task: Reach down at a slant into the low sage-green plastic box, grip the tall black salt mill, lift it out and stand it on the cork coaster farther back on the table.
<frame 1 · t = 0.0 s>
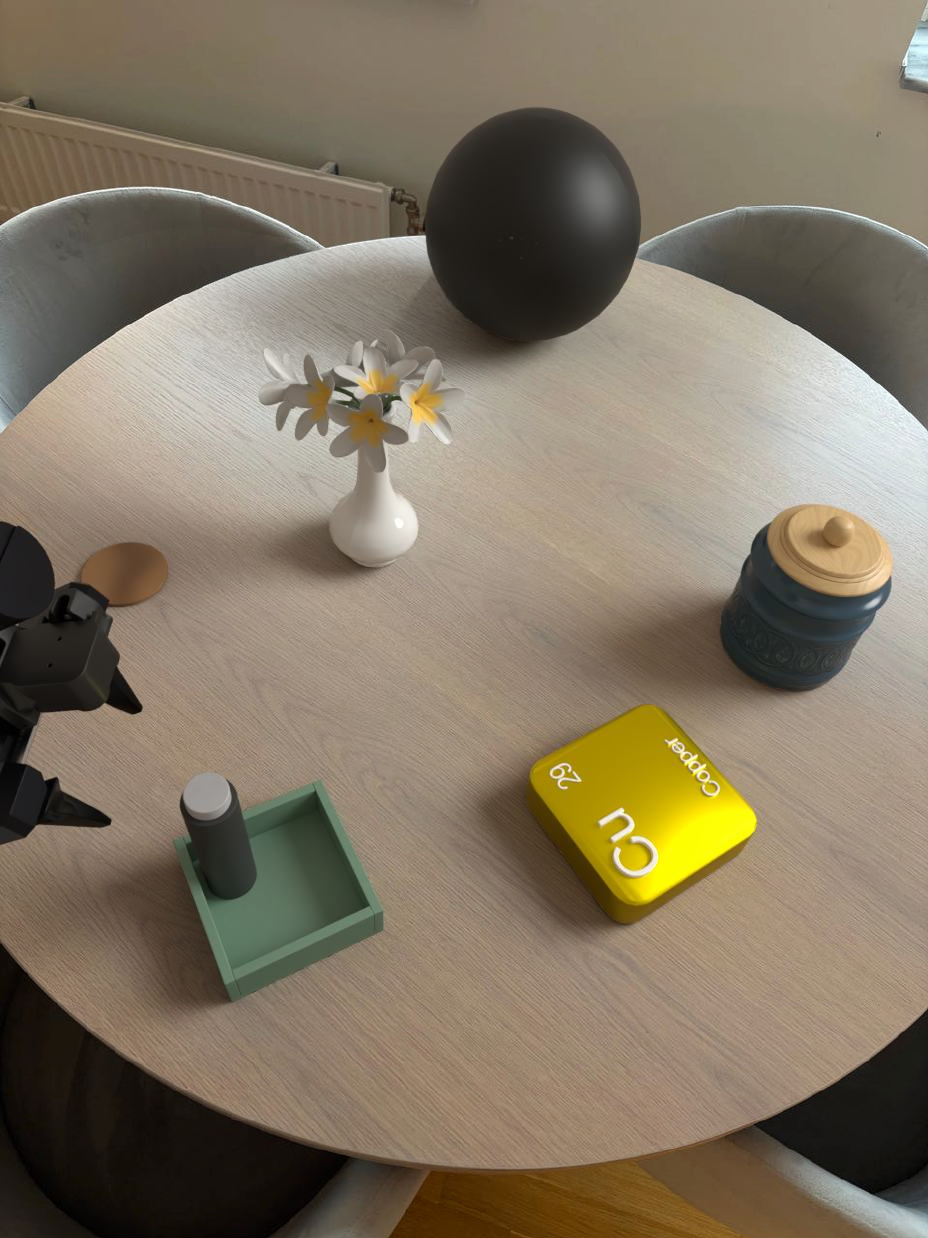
hand: (123, 765, 68), 14 cm above the table, tool tilted 35°, fingers open, 9 cm apart
element tile: (632, 820, 84), on the table
flower vase: (368, 551, 102), on the table
coaster: (125, 574, 97), on the table
canister: (779, 643, 97), on the table
ball: (520, 323, 130), on the table
salt mill: (232, 876, 77), point 1 cm above the table, touching box
box: (280, 895, 77), on the table
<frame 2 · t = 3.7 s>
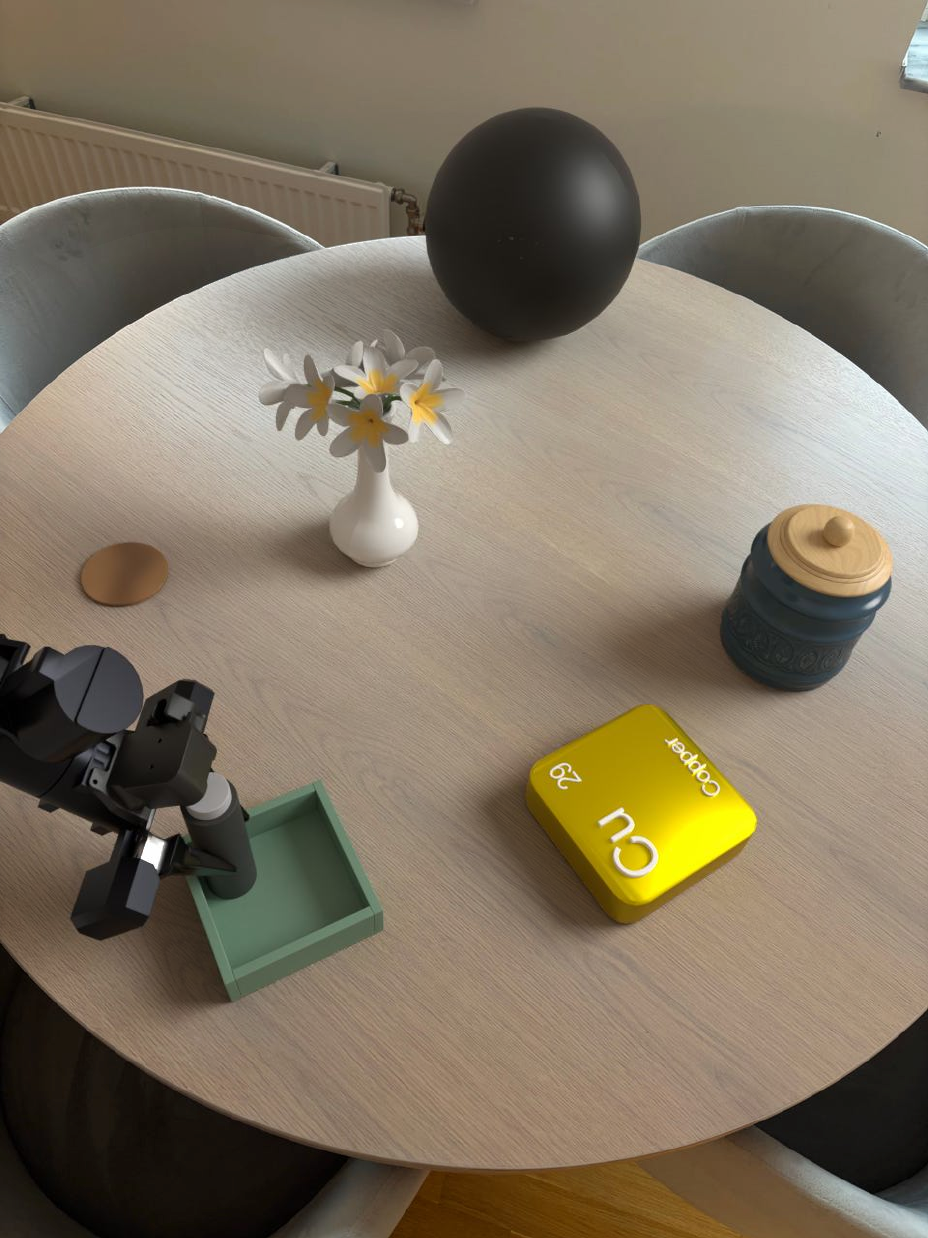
hand: (240, 845, 73), 7 cm above the table, tool tilted 45°, fingers closed on salt mill, 4 cm apart
salt mill: (232, 876, 77), point 1 cm above the table, touching box, gripper
everything else where it was.
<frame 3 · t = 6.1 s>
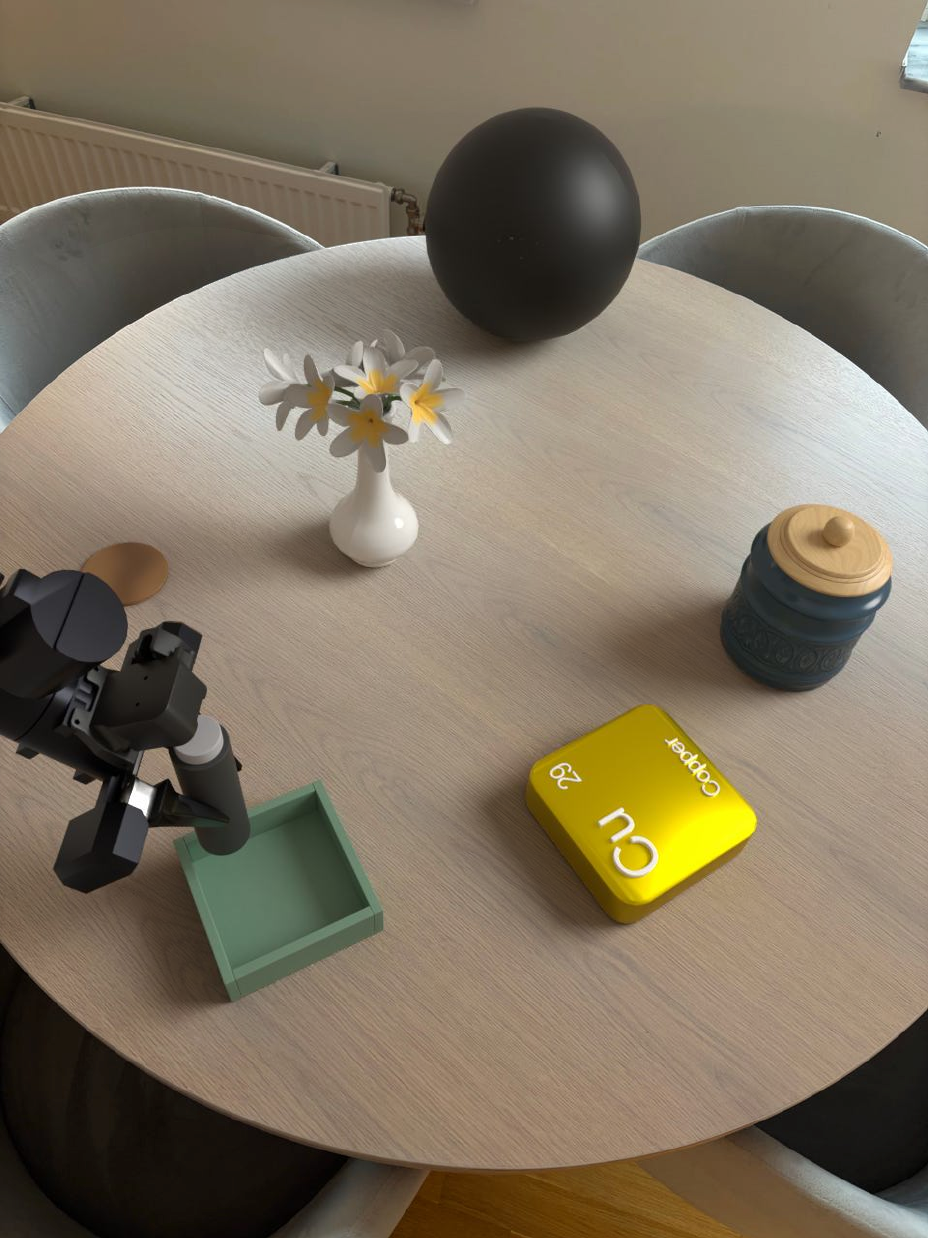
hand: (232, 796, 69), 12 cm above the table, tool tilted 45°, fingers closed on salt mill, 4 cm apart
salt mill: (224, 832, 73), point 6 cm above the table, touching gripper
everything else where it was.
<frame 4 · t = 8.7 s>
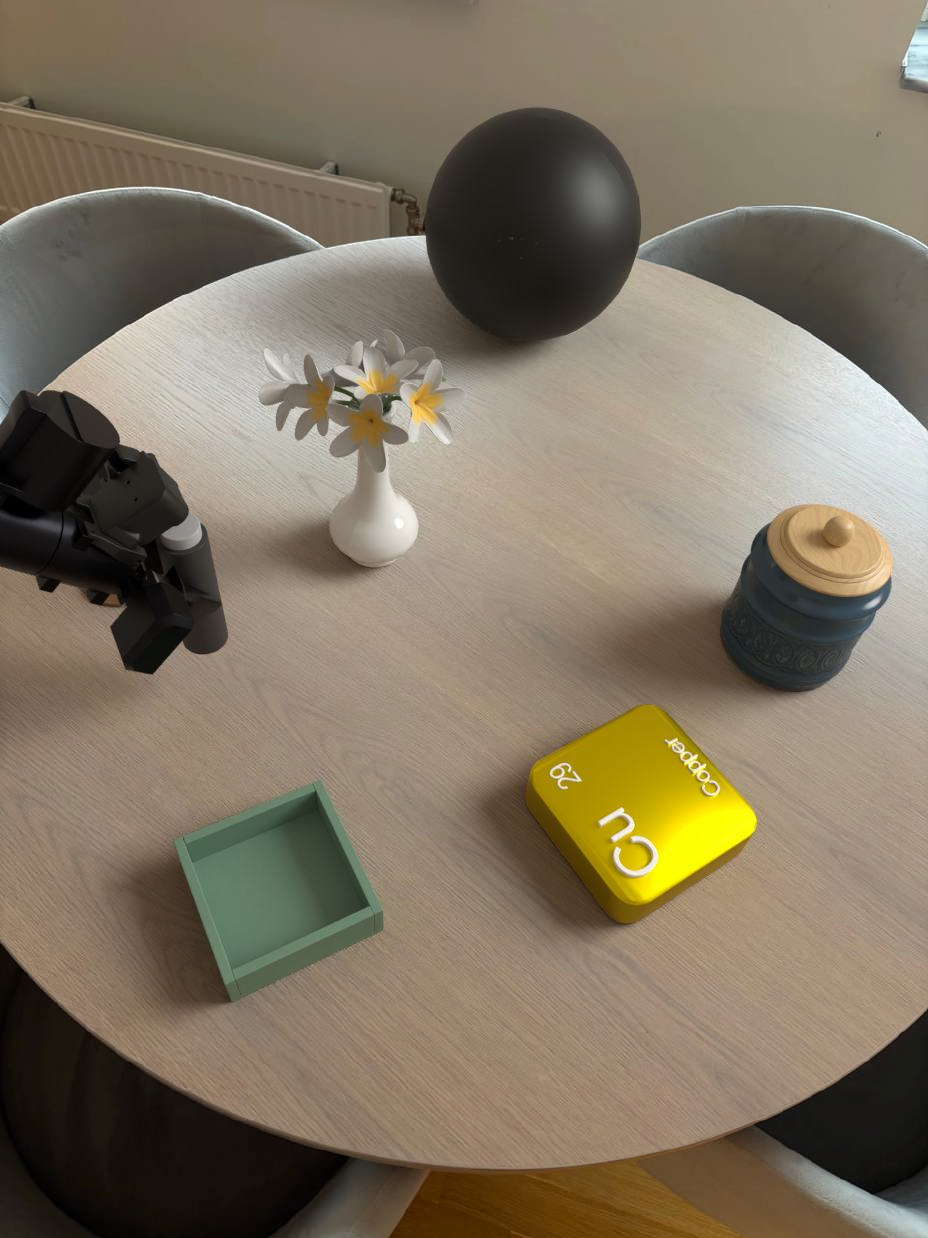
hand: (210, 588, 81), 12 cm above the table, tool tilted 45°, fingers closed on salt mill, 4 cm apart
salt mill: (205, 636, 85), point 6 cm above the table, touching gripper
everything else where it was.
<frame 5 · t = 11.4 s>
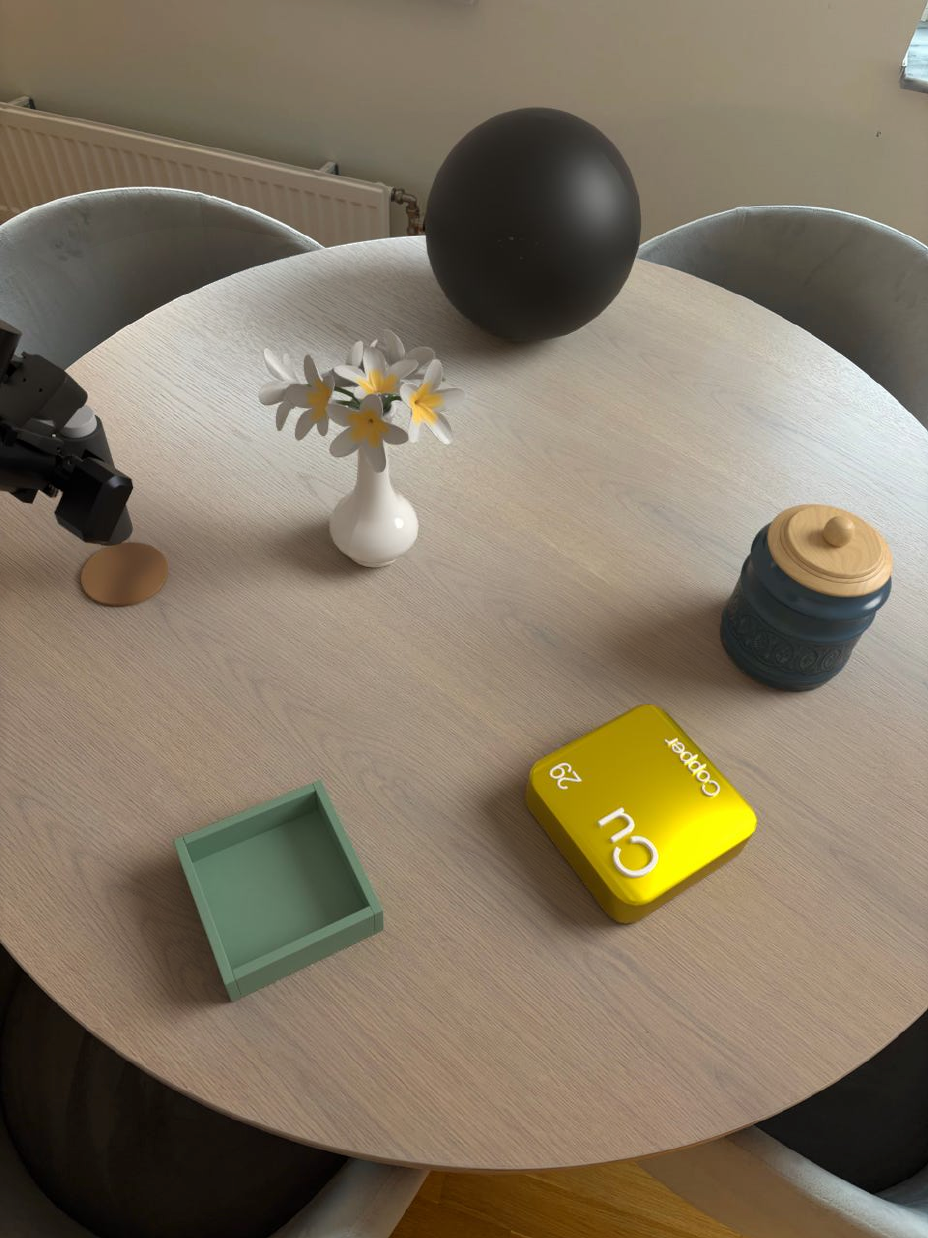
hand: (108, 478, 88), 12 cm above the table, tool tilted 45°, fingers closed on salt mill, 4 cm apart
salt mill: (111, 531, 92), point 6 cm above the table, touching gripper
everything else where it was.
when the fingers open (6 cm above the table, at t = 13.6 s): salt mill stays where it is, resting on coaster.
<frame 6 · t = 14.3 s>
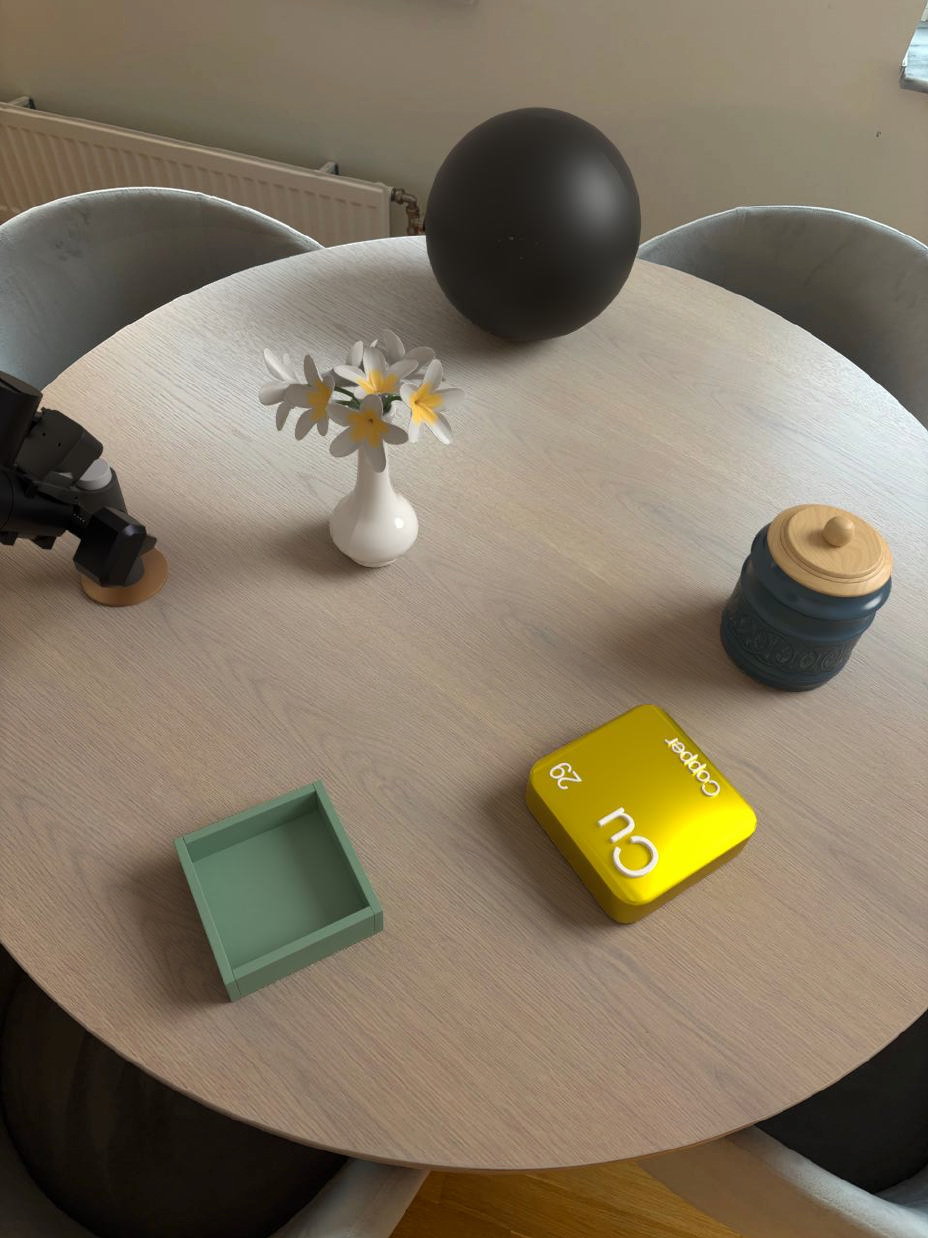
hand: (122, 520, 93), 7 cm above the table, tool tilted 45°, fingers open, 9 cm apart
salt mill: (124, 572, 97), resting on coaster
everything else where it was.
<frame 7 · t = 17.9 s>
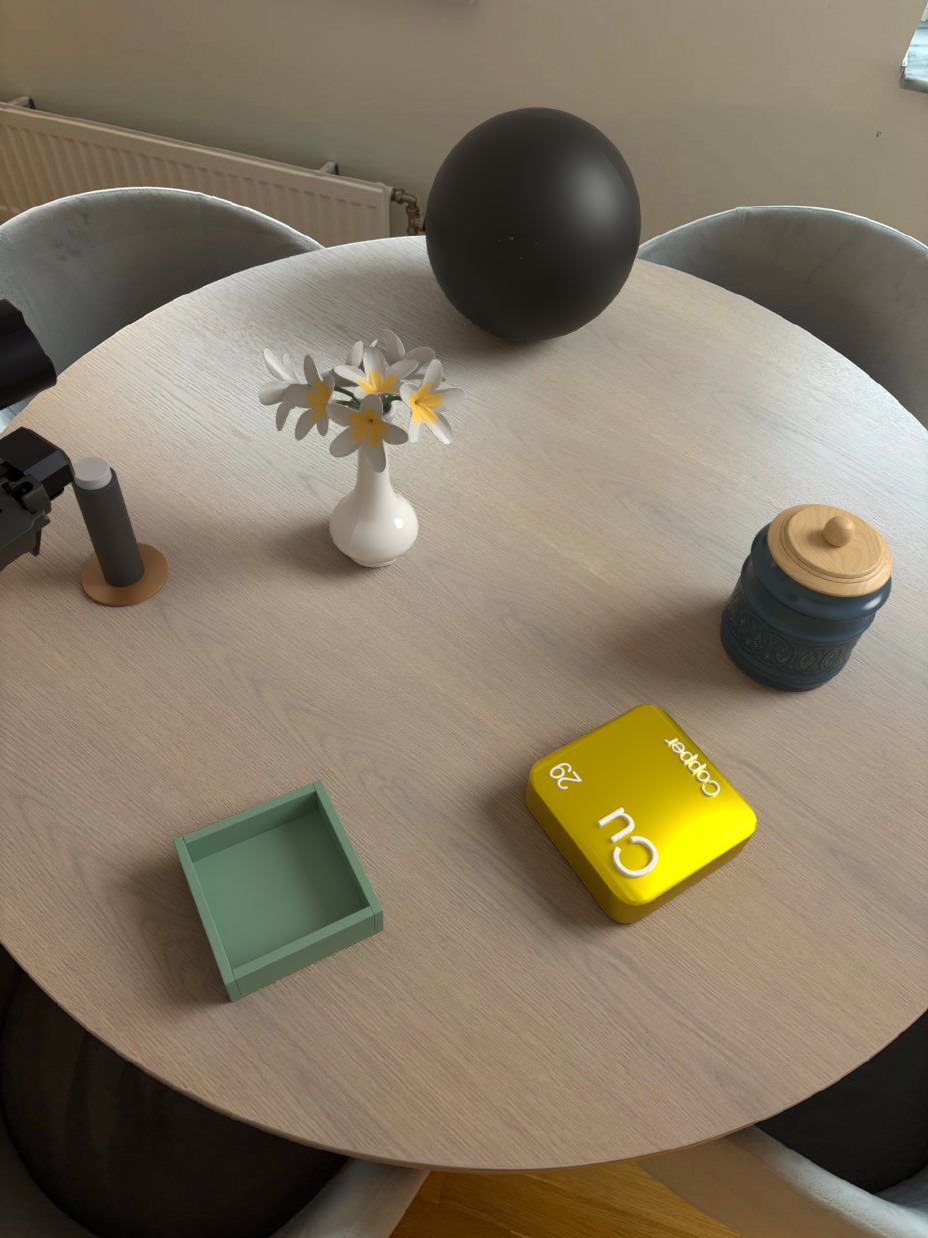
nothing on the table moved.
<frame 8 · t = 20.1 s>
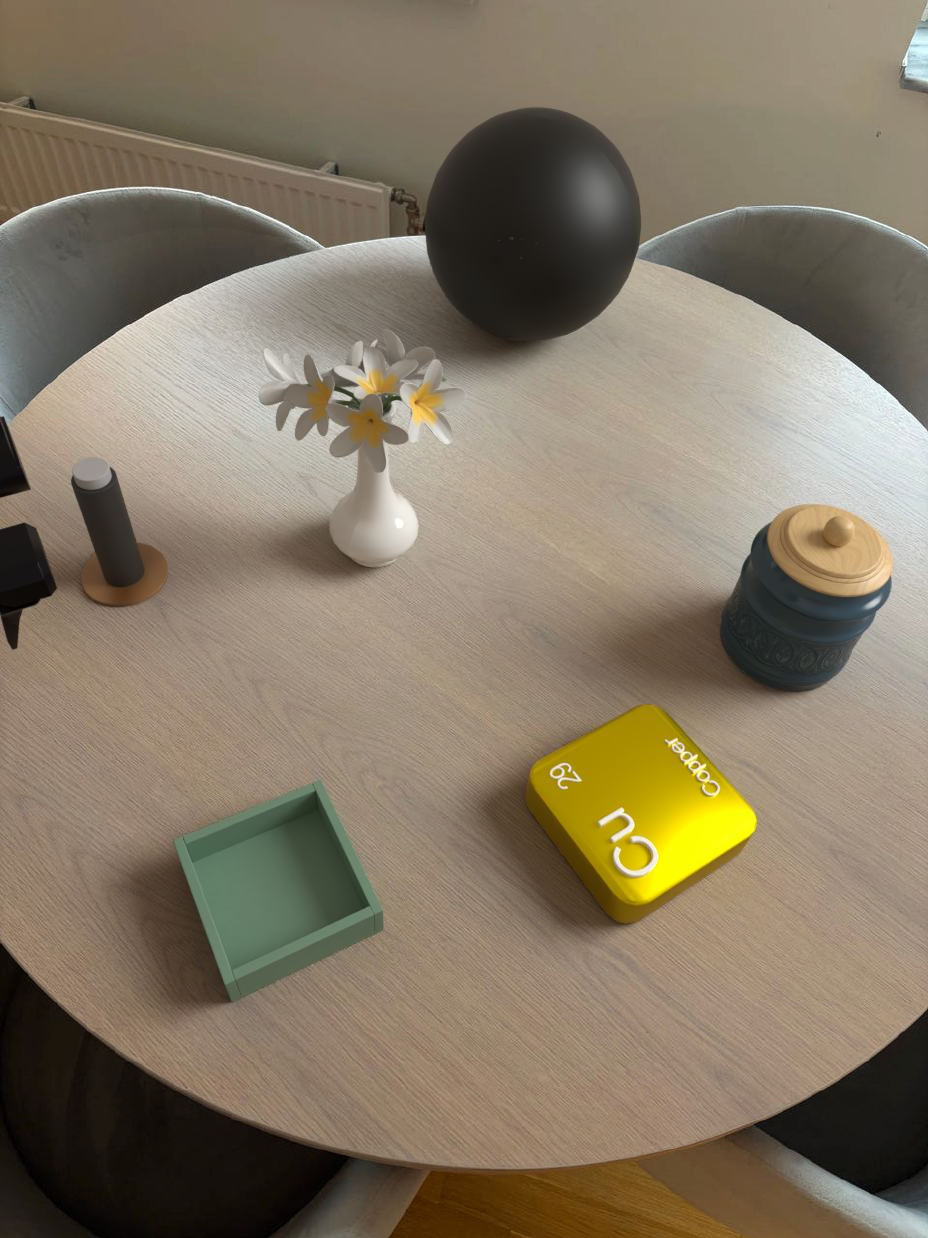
nothing on the table moved.
at the end: salt mill 0.0 cm off-centre on the coaster, point 0.4 cm above the coaster's base; salt mill tilted 0°; the gripper is holding nothing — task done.
